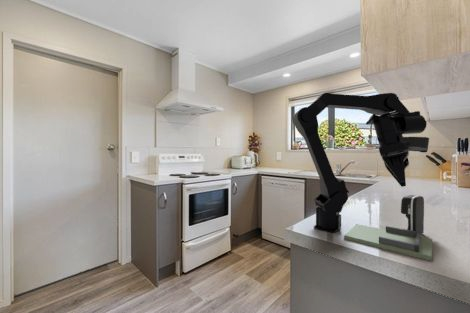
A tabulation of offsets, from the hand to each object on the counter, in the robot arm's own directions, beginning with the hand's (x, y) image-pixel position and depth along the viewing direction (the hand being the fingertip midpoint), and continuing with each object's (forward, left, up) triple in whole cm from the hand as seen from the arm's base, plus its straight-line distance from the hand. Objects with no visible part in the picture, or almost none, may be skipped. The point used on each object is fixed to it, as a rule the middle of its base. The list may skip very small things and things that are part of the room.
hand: (403, 184), depth 61 cm
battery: (+2, +5, -15) cm, 16 cm away
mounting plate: (-3, -6, -15) cm, 17 cm away
